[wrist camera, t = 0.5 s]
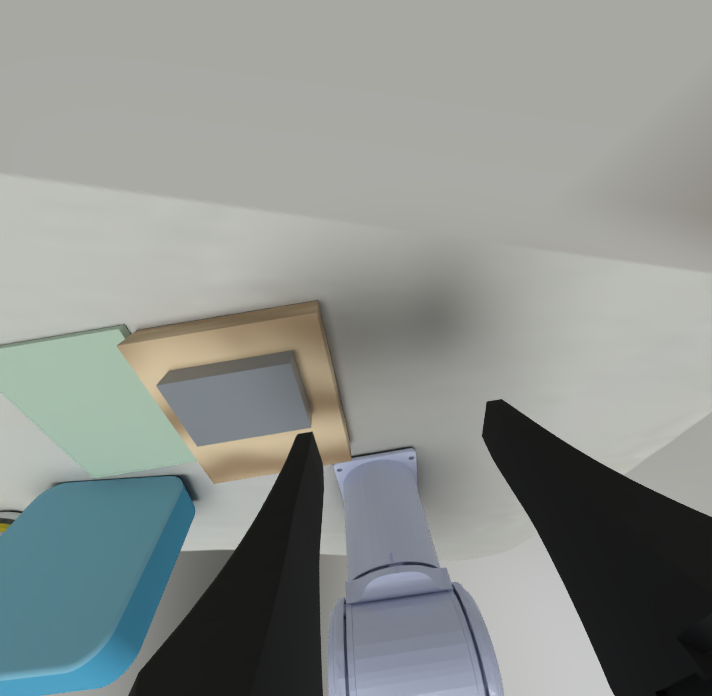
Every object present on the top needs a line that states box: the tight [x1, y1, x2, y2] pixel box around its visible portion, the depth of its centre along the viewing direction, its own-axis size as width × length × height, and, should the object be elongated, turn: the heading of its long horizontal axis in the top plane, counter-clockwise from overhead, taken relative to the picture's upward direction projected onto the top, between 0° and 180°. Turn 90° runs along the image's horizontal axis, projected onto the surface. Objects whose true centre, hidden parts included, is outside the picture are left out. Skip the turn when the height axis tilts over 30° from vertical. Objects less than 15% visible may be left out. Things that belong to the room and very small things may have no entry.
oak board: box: [117, 300, 351, 484], centre depth 21 cm, size 14×12×2 cm
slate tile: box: [156, 350, 312, 447], centre depth 18 cm, size 6×8×2 cm
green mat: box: [0, 325, 197, 479], centre depth 21 cm, size 13×10×1 cm
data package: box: [0, 476, 195, 696], centre depth 21 cm, size 12×4×12 cm, turn 89°
